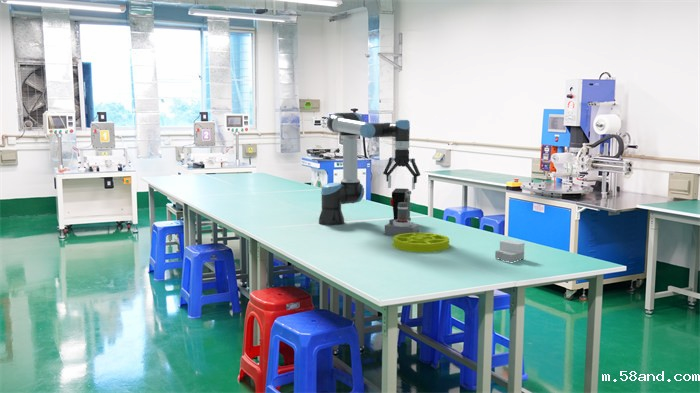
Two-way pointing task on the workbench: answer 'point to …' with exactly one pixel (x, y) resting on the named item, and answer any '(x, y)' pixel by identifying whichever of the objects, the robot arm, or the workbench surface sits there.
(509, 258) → the foam block
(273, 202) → the workbench surface
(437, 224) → the workbench surface
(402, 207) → the lens
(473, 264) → the workbench surface
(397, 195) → the electrical component
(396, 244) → the pulley
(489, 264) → the workbench surface
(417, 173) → the robot arm
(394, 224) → the plate with octagonal ring
